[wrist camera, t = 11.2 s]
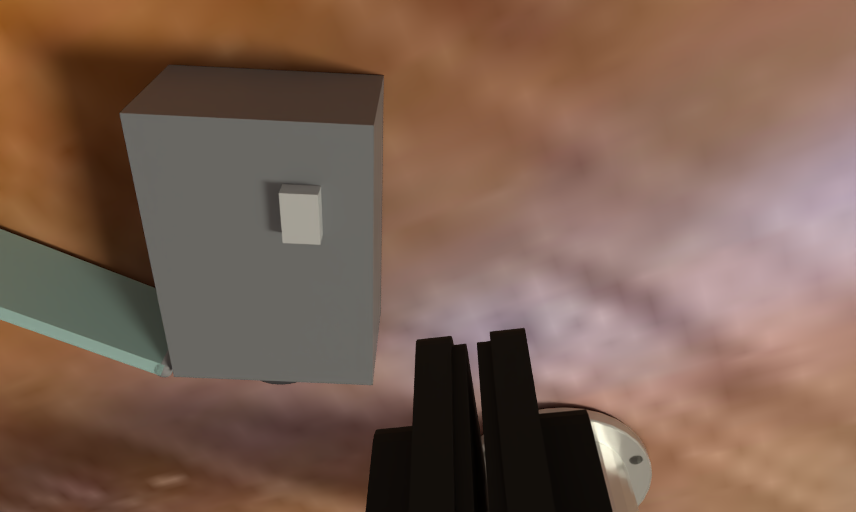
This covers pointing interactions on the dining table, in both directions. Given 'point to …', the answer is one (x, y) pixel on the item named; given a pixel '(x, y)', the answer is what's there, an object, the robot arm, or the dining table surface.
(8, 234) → the door
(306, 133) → the box
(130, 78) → the dining table surface
